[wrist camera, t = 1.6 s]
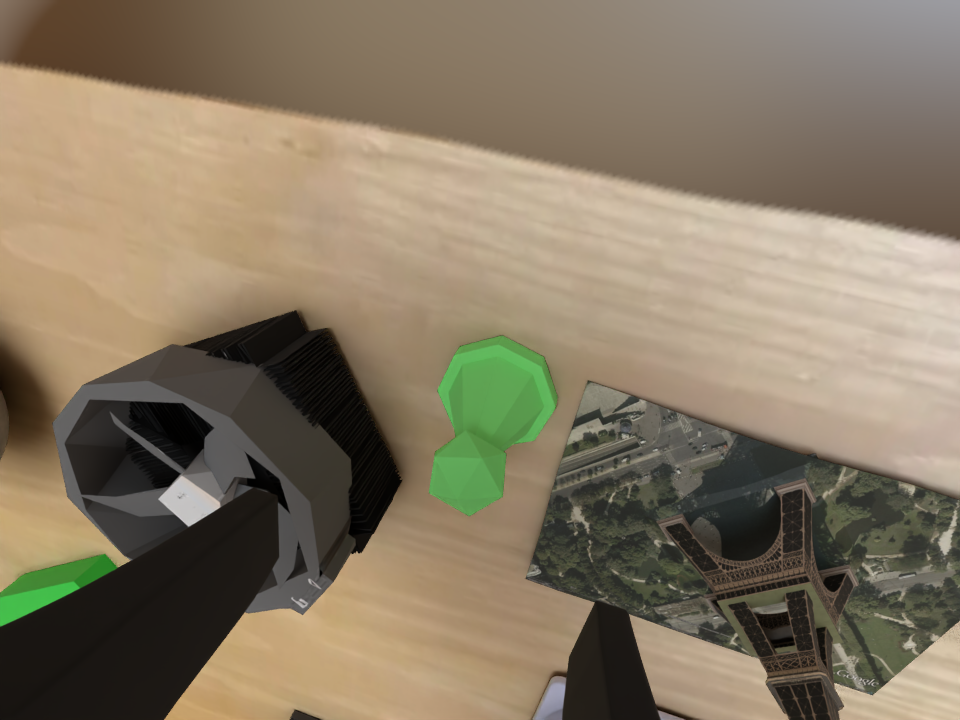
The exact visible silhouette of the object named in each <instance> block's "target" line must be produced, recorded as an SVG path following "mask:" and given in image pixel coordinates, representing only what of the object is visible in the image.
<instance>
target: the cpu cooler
mask: <svg viewBox="0 0 960 720" xmlns="http://www.w3.org/2000/svg"><path fill="white" fill-rule="evenodd" d="M325 329H327V328H325ZM325 329H320V330H315V331H310V332H306V330H305V328H304V326H303V324H302V322H301V320H300V317H299V315H298V313H297V311H296V310H295V311H292V312H289V313H286V314H284V315H281V316H276V317H273V318H270V319H268V320H264V321H261V322H258V323H255V324H252V325H248V326H245V327H242V328H239V329H237V330H236V329H235V330H232V331H229V332H226V333H223V334H220V335H217V336H215V337H211V338H207V339H204V340H201V341H198V342H196V343H191V344H188V345H185V346H178V345H174V344H172V345H169V346H167V347H165V348H163V349H161V350H158V351H156V352H154V353H152V354H150V355H147V356H145V357H143V358H141V359H139V360H137V361H134V362H132V363H130V364H128V365H126V366H123V367H121V368H119V369H117V370H115V371H112V372H110V373H108V374H106V375H104V376H101V377H99V378H97V379H95V380H93V381H91V382H88V383H86V384H84V385H82V386H81V388H80V389H79V390H78V392H77V393H76V394H75V395H74V397H73V398H72V399H71V400H70V402H69V403H68V404H67V405H66V407H65V408H64V409H63V410H62V412H61V413H60V414H59V415H58V417H57V418H56V419H55V420H54V422H53V423H52V424H53V429H54V434H55V438H56V443H57V448H58V453H59V458H60V463H61V468H62V472H63V477H64V482H65V487H66V492H67V497H68V498H69V499H70V500H71V501H72V502H73V503H74V504H75V505H76V506H77V508H78V509H79V510H80V511H81V512H82V513H83V514H84V515H85V516H86V517H87V518H88V519H89V520H90V521H91V522H92V523H93V524H94V525H95V526H96V527H97V528H98V529H99V530H100V531H101V532H102V533H103V534H104V535H105V536H106V537H107V539H108V540H109V541H110V542H111V543H112V544H113V545H114V546H115V547H116V548H117V549H118V550H119V551H120V552H121V553H122V554H123V555H124V556H125V557H127V558H128V559H130V560H133V559H135V558H137V557H138V556H140V555H142V554H144V553H145V552H147V551H149V550H150V549H152V548H154V547H156V546H157V545H159V544H161V543H162V542H164V541H166V540H167V539H169V538H171V537H172V536H174V535H176V534H178V533H179V532H181V531H183V530H184V529H186V528H188V527H189V526H191V525H192V524H194V523H196V522H197V521H199V520H201V519H202V518H204V517H206V516H207V515H209V514H210V513H212V512H214V511H215V510H217V509H218V508H220V507H222V506H223V505H225V504H227V503H228V502H230V501H231V500H233V499H235V498H236V497H238V496H239V495H241V494H243V493H244V492H246V491H248V490H249V489H251V488H256V489H259V490H262V491H265V492H269V493H272V494H275V495H278V522H279V558H278V560H277V562H276V564H275V565H274V567H273V569H272V570H271V572H270V574H269V576H268V577H267V579H266V581H265V582H264V584H263V586H262V587H261V589H260V590H259V592H258V594H257V595H256V597H255V599H254V600H253V602H252V603H251V604H250V606H249V607H248V608H247V610H246V611H245V612H246V613H255V612H261V611H268V610H274V609H288V608H291V609H293V610H295V611H297V612H298V613H300V614H302V615H303V614H304V613H305V612H306V611H307V610H308V609H309V608H310V607H311V606H312V605H313V603H314V602H315V601H316V600H317V599H318V598H319V597H320V596H321V595H322V594H323V593H324V592H325V591H326V589H327V588H328V587H329V586H330V585H331V584H332V583H333V582H334V580H335V579H336V577H337V575H338V574H339V572H340V570H341V569H342V567H343V565H344V564H345V562H346V560H347V559H348V557H349V555H350V554H351V553H352V554H354V553H356V551H357V552H358V553H360V552H361V553H362V551H363V550H364V548H365V546H366V545H367V543H368V541H369V539H370V538H371V536H372V534H374V532H375V530H376V529H377V527H378V525H379V523H380V521H381V519H382V517H383V515H384V514H385V512H386V510H387V509H388V507H389V505H390V503H391V502H392V500H393V497H394V495H395V493H396V491H397V489H398V487H399V485H400V483H401V482H402V480H403V479H402V480H400V478H401V477H398V476H399V475H400V474H398V475H397V473H398V472H399V471H398V472H395V471H396V469H397V468H396V465H394V463H392V462H393V459H392V457H390V454H388V453H389V451H387V448H385V447H386V445H384V444H385V443H384V442H382V441H383V440H381V441H379V440H380V439H381V436H379V435H380V433H377V432H378V429H377V430H374V429H375V428H376V427H374V426H375V423H374V421H371V420H372V417H370V416H371V415H370V414H368V413H369V411H365V410H366V409H367V408H365V407H366V405H363V404H364V403H362V404H360V403H361V401H362V400H363V399H362V398H360V399H358V398H359V397H360V396H361V395H360V396H358V395H359V394H360V393H359V392H356V393H354V392H355V391H356V390H357V389H355V388H356V387H357V386H356V385H354V384H355V382H352V380H353V378H351V377H352V376H351V375H348V374H349V373H350V372H349V371H348V368H346V369H344V368H345V367H346V365H343V366H340V365H341V364H342V363H343V362H341V361H342V360H343V358H340V357H341V355H338V356H336V355H337V354H338V353H335V354H332V353H334V352H335V351H336V350H337V349H335V350H332V349H333V348H334V347H335V346H336V344H333V343H334V342H332V343H328V342H329V341H330V340H332V339H333V338H332V337H330V338H328V337H329V336H331V335H329V336H324V335H325V334H326V333H327V332H324V333H321V332H323V331H324V330H325ZM328 332H329V331H328ZM320 333H321V334H320ZM322 336H324V337H322ZM327 343H328V344H327ZM331 344H333V345H331ZM339 353H340V352H339ZM339 358H340V359H339ZM347 371H348V372H347ZM347 375H348V376H347ZM350 378H351V379H350ZM353 385H354V386H353ZM364 408H365V409H364ZM364 411H365V412H364Z"/></svg>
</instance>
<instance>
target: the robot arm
mask: <svg viewBox="0 0 960 720" xmlns="http://www.w3.org/2000/svg"><path fill="white" fill-rule="evenodd" d="M278 558H279V522H278V495H275V494H272V493H269V492H265V491H262V490H259V489H256V488H251V489H249V490H248V491H246V492H244V493H243V494H241V495H239V496H238V497H236V498H235V499H233V500H231V501H230V502H228V503H227V504H225V505H223V506H222V507H220V508H218V509H217V510H215V511H214V512H212V513H210V514H209V515H207V516H206V517H204V518H202V519H201V520H199V521H197V522H196V523H194V524H192V525H191V526H189V527H188V528H186V529H184V530H183V531H181V532H179V533H178V534H176V535H174V536H172V537H171V538H169V539H167V540H166V541H164V542H162V543H161V544H159V545H157V546H156V547H154V548H152V549H150V550H149V551H147V552H145V553H144V554H142V555H140V556H138V557H137V558H135V559H133V560H131V561H129V562H128V563H126V564H124V565H122V566H120V567H118V568H117V569H115V570H113V571H111V572H109V573H107V574H106V575H104V576H102V577H100V578H98V579H96V580H95V581H93V582H91V583H89V584H87V585H85V586H83V587H81V588H79V589H77V590H75V591H74V592H72V593H70V594H68V595H66V596H64V597H62V598H60V599H58V600H56V601H54V602H52V603H50V604H48V605H45V606H43V607H41V608H39V609H37V610H35V611H33V612H31V613H29V614H27V615H24V616H22V617H20V618H18V619H16V620H14V621H12V622H9V623H7V624H5V625H3V626H0V720H164V719H165V718H166V716H167V715H168V713H169V712H170V711H171V709H172V708H173V706H174V705H175V704H176V702H177V701H178V699H179V698H180V697H181V696H182V694H183V693H184V692H185V690H186V689H187V688H188V686H189V685H190V684H191V682H192V681H193V680H194V678H195V677H196V676H197V675H198V673H199V672H200V671H201V669H202V668H203V667H204V665H205V664H206V663H207V661H208V660H209V659H210V657H211V656H212V655H213V654H214V652H215V651H216V650H217V648H218V647H219V646H220V644H221V643H222V642H223V640H224V639H225V638H226V636H227V635H228V634H229V632H230V631H231V630H232V628H233V627H234V626H235V624H236V623H237V622H238V620H239V619H240V618H241V616H242V615H243V614H244V612H245V611H246V610H247V608H248V607H249V606H250V604H251V603H252V602H253V600H254V599H255V597H256V595H257V594H258V592H259V590H260V589H261V587H262V586H263V584H264V582H265V581H266V579H267V577H268V576H269V574H270V572H271V570H272V569H273V567H274V565H275V564H276V562H277V560H278ZM532 720H685V719H682V718H679V717H676V716H673V715H670V714H668V713H665V712H662V711H659V710H657V707H656V704H655V701H654V698H653V695H652V692H651V689H650V686H649V683H648V679H647V676H646V673H645V670H644V667H643V663H642V660H641V657H640V653H639V650H638V646H637V643H636V639H635V636H634V632H633V629H632V625H631V621H630V617H629V614H628V613H627V611H626V610H625V609H622V608H619V607H616V606H613V605H610V604H607V603H604V602H601V601H598V600H596V601H595V604H594V606H593V608H592V610H591V612H590V614H589V616H588V618H587V620H586V622H585V625H584V627H583V629H582V631H581V633H580V635H579V637H578V639H577V641H576V643H575V646H574V648H573V650H572V652H571V654H570V656H569V662H568V670H567V678H565V677H562V676H555V677H552V678H551V680H550V682H549V684H548V686H547V688H546V691H545V693H544V695H543V697H542V699H541V701H540V704H539V706H538V708H537V710H536V712H535V714H534V717H533V719H532Z"/></svg>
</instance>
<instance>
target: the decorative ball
mask: <svg viewBox="0 0 960 720" xmlns="http://www.w3.org/2000/svg"><path fill="white" fill-rule="evenodd" d="M8 432H9V418H8V410H7V406H6V402H5V399H4V397H3V394H2V392H1V390H0V460H1V458H2V455H3V453H4V450H5V447H6V444H7V439H8Z"/></svg>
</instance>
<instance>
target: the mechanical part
mask: <svg viewBox="0 0 960 720" xmlns="http://www.w3.org/2000/svg"><path fill="white" fill-rule="evenodd" d="M115 569H117V567H116V565H115V564H114V563H113V562H112V561H111V560H110V559H109V558H108V557H107V556H106V555H105V554H103V555H99V556H95V557H91V558H87V559H83V560H79V561H75V562H71V563H67V564H63V565H58V566H54V567H50V568H46V569H42V570H38V571H34V572H30V573H26V574H24V575H22V576H21V577H20V578H18V579H17V580H16V581H14V582H13V583H12V584H11V585H9V586H8V587H7V588H6V589H4V590H3V591H2V592H0V626H3V625H5V624H7V623H9V622H12V621H14V620H16V619H18V618H20V617H22V616H24V615H27V614H29V613H31V612H33V611H35V610H37V609H39V608H41V607H43V606H45V605H48V604H50V603H52V602H54V601H56V600H58V599H60V598H62V597H64V596H66V595H68V594H70V593H72V592H74V591H75V590H77V589H79V588H81V587H83V586H85V585H87V584H89V583H91V582H93V581H95V580H96V579H98V578H100V577H102V576H104V575H106V574H107V573H109V572H111V571H113V570H115Z"/></svg>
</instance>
